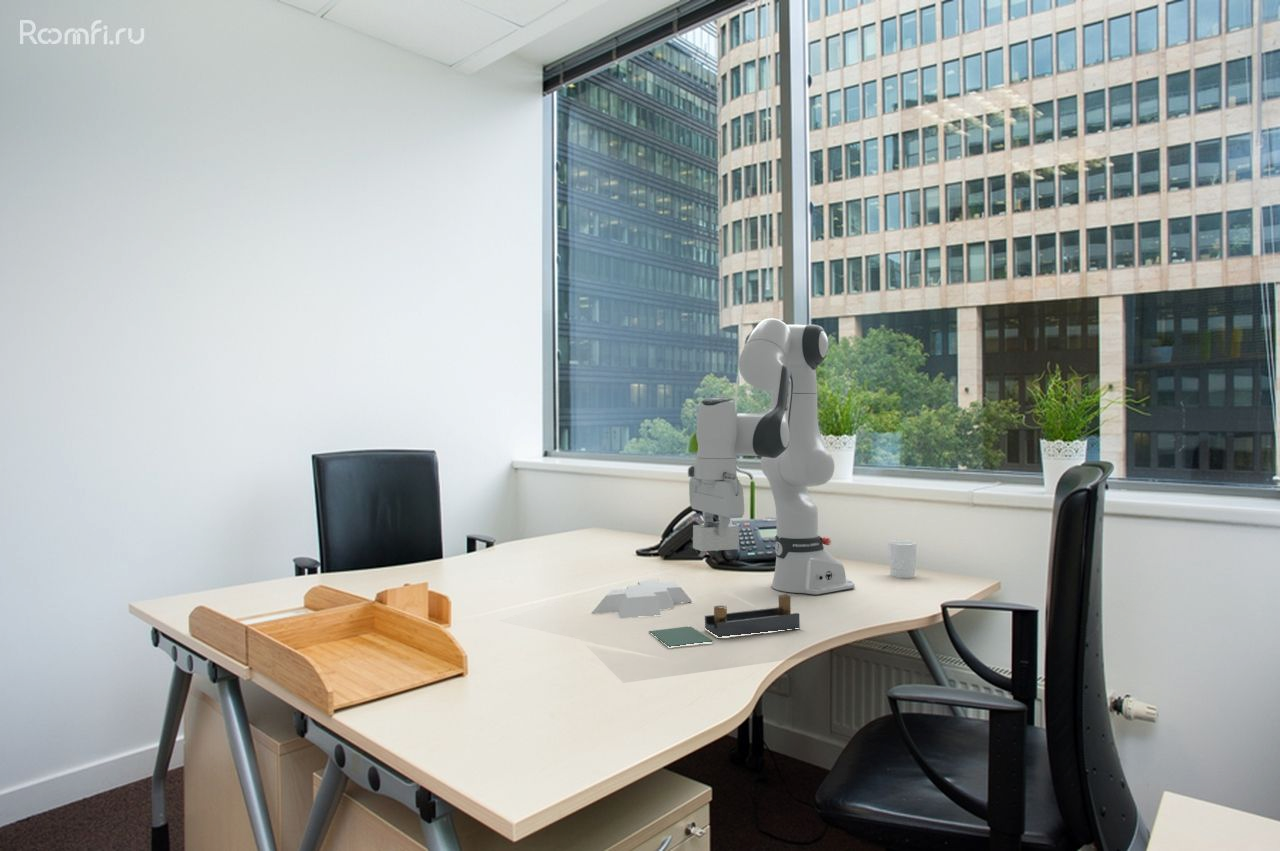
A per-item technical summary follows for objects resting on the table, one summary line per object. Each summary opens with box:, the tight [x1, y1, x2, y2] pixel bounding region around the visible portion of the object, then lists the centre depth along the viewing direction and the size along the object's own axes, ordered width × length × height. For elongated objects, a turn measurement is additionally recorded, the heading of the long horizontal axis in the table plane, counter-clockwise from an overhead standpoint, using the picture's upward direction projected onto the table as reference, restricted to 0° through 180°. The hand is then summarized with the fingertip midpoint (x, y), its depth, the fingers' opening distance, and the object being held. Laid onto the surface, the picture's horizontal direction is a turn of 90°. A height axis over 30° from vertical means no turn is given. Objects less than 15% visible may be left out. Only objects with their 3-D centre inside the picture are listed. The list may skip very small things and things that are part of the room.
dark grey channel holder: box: [704, 594, 801, 637], centre depth 173 cm, size 20×7×7 cm, turn 110°
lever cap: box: [692, 521, 740, 552], centre depth 169 cm, size 9×4×6 cm, turn 110°
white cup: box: [887, 539, 917, 579], centre depth 227 cm, size 8×8×10 cm
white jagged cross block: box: [590, 578, 693, 619], centre depth 195 cm, size 35×20×6 cm, turn 145°
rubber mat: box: [648, 626, 714, 647], centre depth 167 cm, size 10×12×1 cm
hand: (715, 534), depth 169 cm, fingers closed on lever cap, 4 cm apart
